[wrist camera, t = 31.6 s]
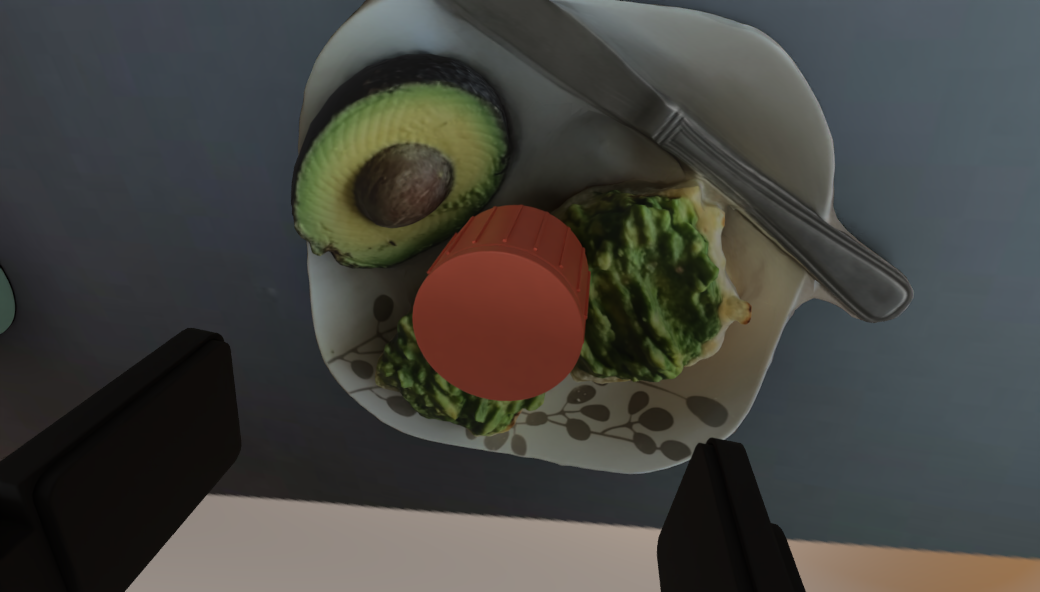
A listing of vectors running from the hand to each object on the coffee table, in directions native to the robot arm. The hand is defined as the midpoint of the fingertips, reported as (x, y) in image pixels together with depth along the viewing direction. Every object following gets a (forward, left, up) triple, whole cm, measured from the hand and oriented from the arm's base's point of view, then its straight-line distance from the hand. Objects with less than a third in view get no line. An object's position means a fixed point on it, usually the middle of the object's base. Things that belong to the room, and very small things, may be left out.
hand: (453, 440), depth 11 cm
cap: (+1, 0, -6) cm, 6 cm away
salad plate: (0, 0, -10) cm, 10 cm away
